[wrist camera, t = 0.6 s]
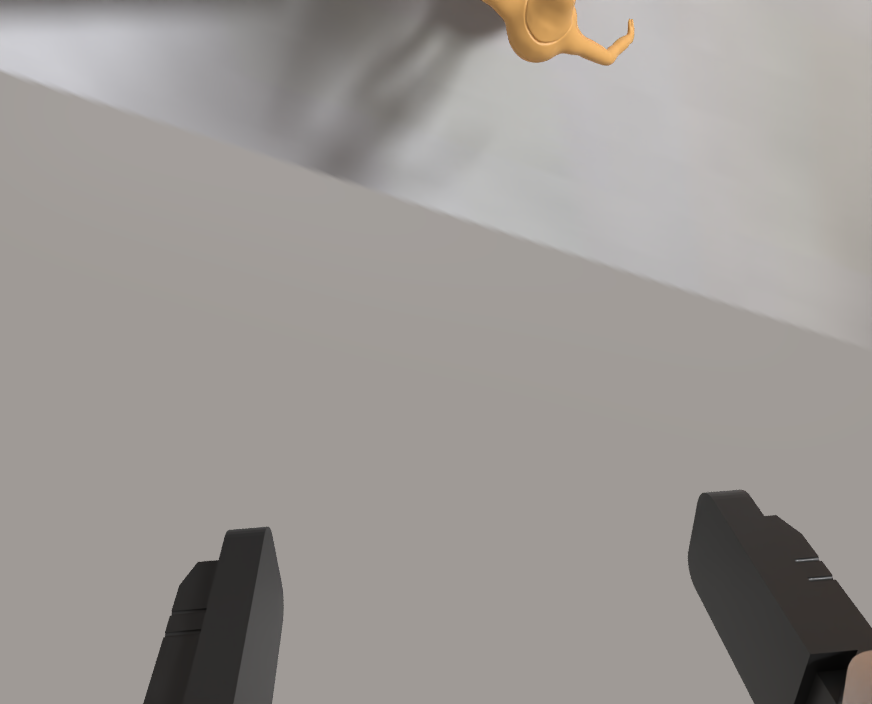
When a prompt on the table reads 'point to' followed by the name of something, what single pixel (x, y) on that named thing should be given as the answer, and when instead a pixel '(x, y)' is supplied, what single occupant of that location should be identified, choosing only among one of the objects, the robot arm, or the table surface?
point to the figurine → (552, 31)
